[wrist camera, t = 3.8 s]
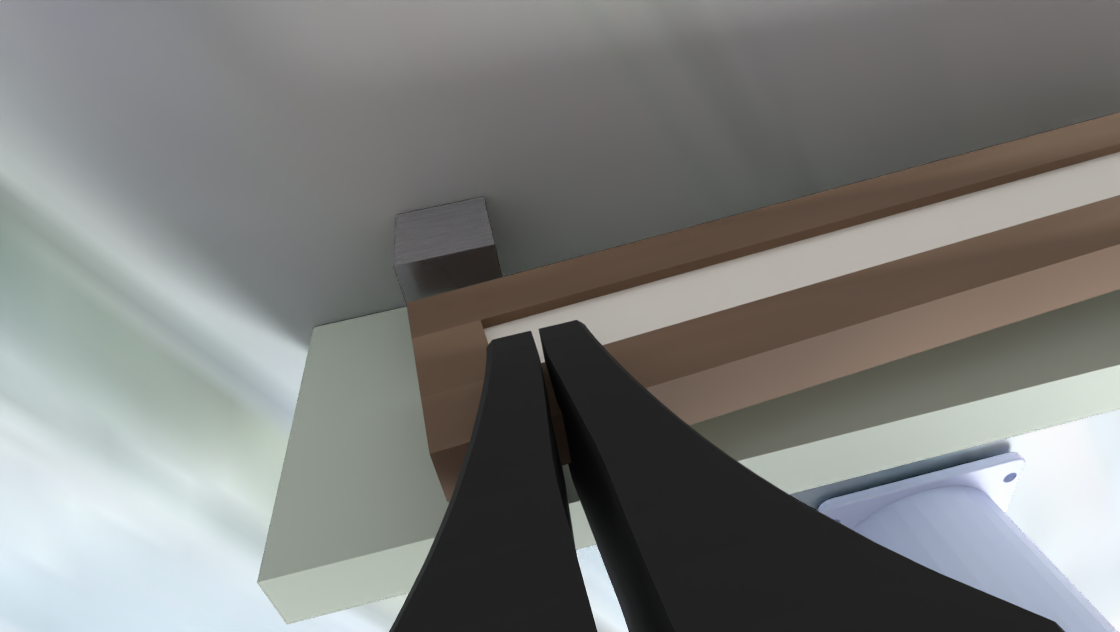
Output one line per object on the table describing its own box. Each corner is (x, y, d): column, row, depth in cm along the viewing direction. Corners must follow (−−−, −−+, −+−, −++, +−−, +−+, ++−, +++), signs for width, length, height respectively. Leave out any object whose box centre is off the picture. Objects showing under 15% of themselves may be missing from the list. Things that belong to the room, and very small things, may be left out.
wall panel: (1243, 157, 18) (1622, 279, 13) (330, 365, 16) (286, 624, 11) (1309, 21, 16) (1801, 93, 10) (274, 240, 14) (183, 478, 8)
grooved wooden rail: (1243, 116, 15) (1482, 174, 12) (420, 345, 12) (447, 502, 9) (1263, 73, 15) (1520, 121, 12) (406, 302, 12) (429, 453, 9)
